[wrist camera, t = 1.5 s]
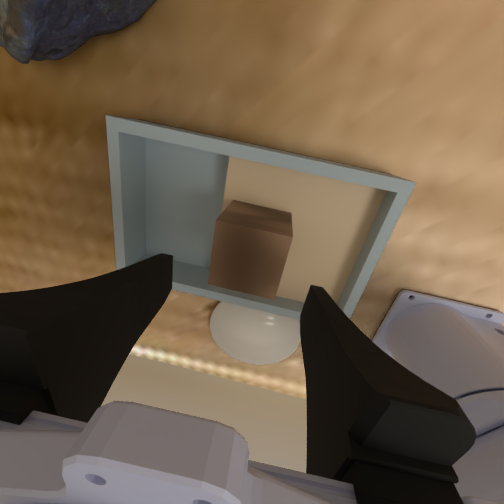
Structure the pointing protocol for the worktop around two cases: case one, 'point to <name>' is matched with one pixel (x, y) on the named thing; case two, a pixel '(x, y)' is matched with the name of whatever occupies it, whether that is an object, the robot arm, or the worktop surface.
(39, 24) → the rock
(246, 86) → the worktop surface
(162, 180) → the caddy
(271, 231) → the block
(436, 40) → the worktop surface
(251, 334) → the coaster
